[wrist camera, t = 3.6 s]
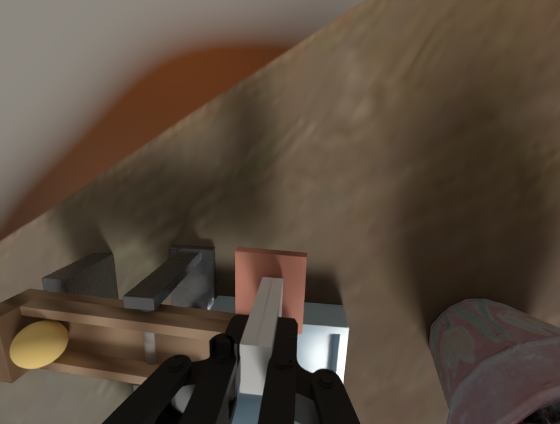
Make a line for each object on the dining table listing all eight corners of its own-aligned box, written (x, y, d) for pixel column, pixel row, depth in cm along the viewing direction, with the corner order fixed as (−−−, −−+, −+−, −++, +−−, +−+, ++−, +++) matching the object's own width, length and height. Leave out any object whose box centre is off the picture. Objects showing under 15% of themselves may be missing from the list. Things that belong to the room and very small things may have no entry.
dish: (219, 395, 34) (209, 427, 30) (217, 295, 31) (205, 316, 27) (332, 407, 33) (336, 441, 29) (342, 304, 30) (348, 327, 26)
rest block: (100, 301, 33) (52, 336, 26) (93, 252, 31) (41, 278, 25) (118, 302, 32) (75, 338, 26) (113, 253, 31) (65, 279, 25)
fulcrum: (176, 318, 32) (119, 395, 22) (172, 244, 30) (106, 292, 20) (216, 322, 32) (177, 401, 22) (214, 247, 30) (169, 297, 20)
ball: (47, 343, 23) (1, 376, 20) (40, 309, 23) (-9, 336, 19) (82, 349, 23) (41, 383, 20) (76, 313, 22) (32, 342, 19)
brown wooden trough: (44, 347, 25) (-9, 384, 21) (19, 224, 22) (-47, 241, 18) (299, 385, 22) (294, 438, 18) (307, 248, 19) (305, 274, 15)
